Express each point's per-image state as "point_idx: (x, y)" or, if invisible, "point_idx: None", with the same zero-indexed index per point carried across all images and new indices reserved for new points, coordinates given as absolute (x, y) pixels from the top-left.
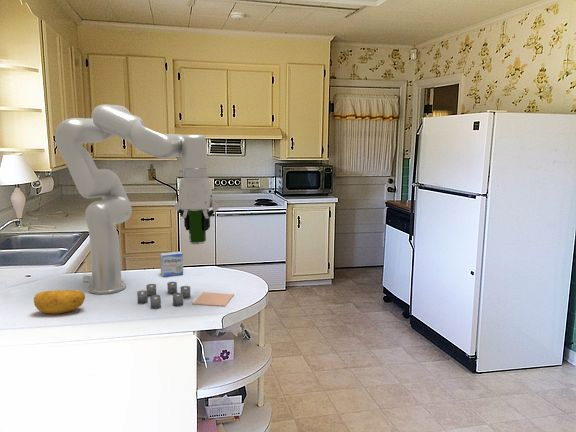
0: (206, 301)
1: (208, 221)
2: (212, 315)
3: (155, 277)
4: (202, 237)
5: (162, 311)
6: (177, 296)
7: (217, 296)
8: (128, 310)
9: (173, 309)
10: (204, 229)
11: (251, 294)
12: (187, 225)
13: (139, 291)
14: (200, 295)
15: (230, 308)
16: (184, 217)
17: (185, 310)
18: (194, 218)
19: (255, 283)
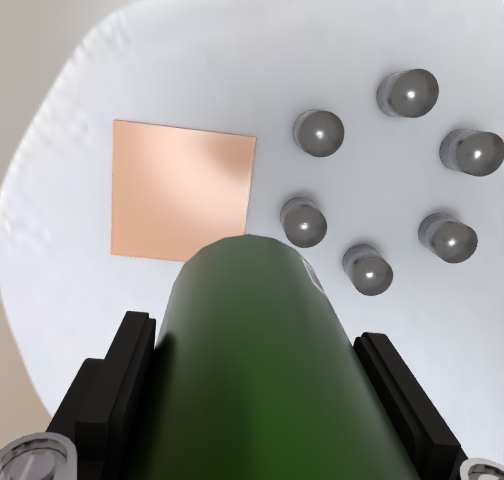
0: (202, 162)
1: (56, 421)
2: (143, 11)
3: (451, 414)
4: (184, 276)
5: (361, 48)
6: (318, 112)
7: (170, 223)
8: (501, 52)
9: (321, 75)
10: (141, 316)
11: (43, 266)
12: (381, 368)
13: (496, 161)
14: (241, 229)
15: (87, 101)
16: (482, 474)
17: (269, 66)
18: (279, 388)
19: (60, 384)
